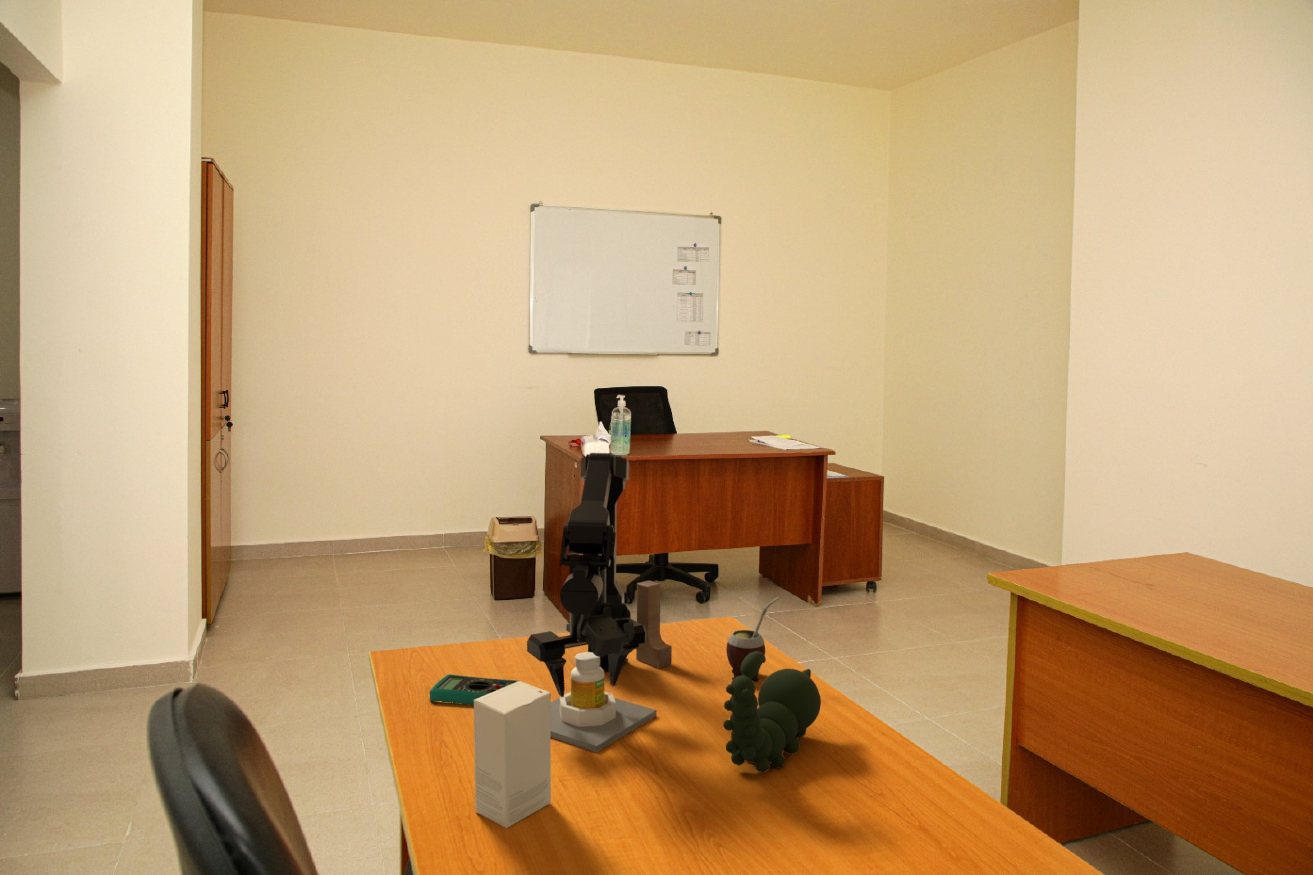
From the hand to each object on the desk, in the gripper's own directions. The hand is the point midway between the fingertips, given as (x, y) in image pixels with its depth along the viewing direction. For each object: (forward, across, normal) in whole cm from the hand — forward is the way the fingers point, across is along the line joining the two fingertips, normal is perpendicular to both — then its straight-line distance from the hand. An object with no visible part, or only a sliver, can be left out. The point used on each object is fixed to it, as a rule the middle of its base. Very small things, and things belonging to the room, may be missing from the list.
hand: (587, 690), depth 145 cm
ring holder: (+5, 0, 0) cm, 5 cm away
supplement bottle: (+4, 0, 0) cm, 4 cm away
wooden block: (+5, +23, +17) cm, 29 cm away
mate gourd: (+5, +34, +3) cm, 35 cm away
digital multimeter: (+6, -12, +18) cm, 22 cm away
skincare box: (+5, -21, -20) cm, 29 cm away
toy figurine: (+5, +19, -24) cm, 31 cm away
